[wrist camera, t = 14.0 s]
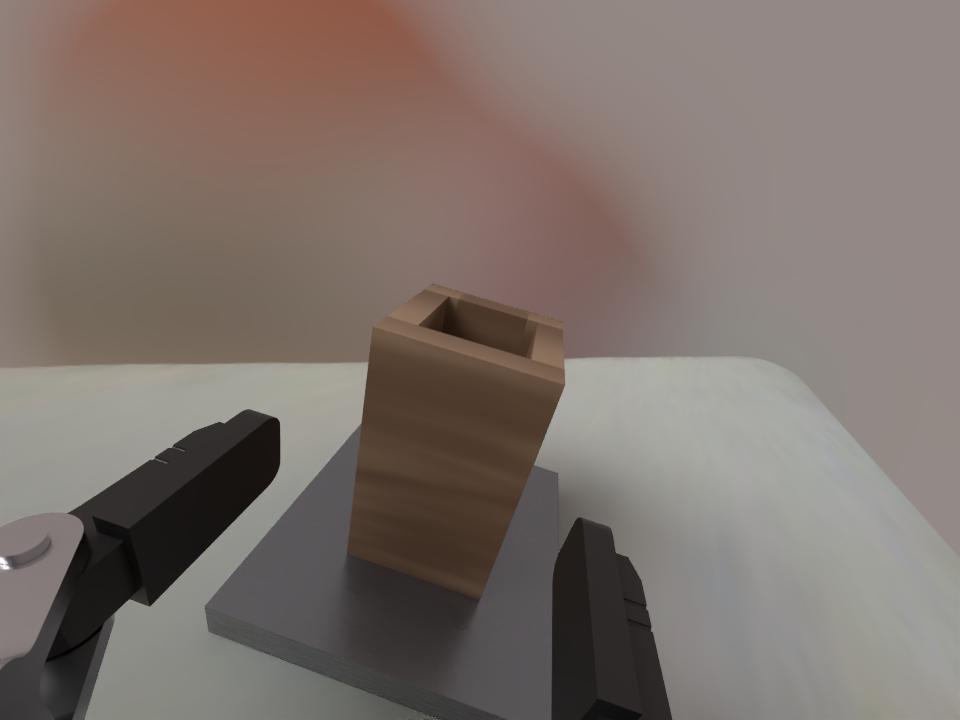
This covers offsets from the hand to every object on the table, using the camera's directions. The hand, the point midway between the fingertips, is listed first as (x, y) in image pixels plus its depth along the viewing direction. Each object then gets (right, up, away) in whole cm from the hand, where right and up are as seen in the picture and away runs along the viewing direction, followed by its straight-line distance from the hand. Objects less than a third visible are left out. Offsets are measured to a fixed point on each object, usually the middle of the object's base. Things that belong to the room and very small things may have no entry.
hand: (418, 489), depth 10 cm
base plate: (-1, -5, +8) cm, 10 cm away
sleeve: (-1, -4, +8) cm, 9 cm away
